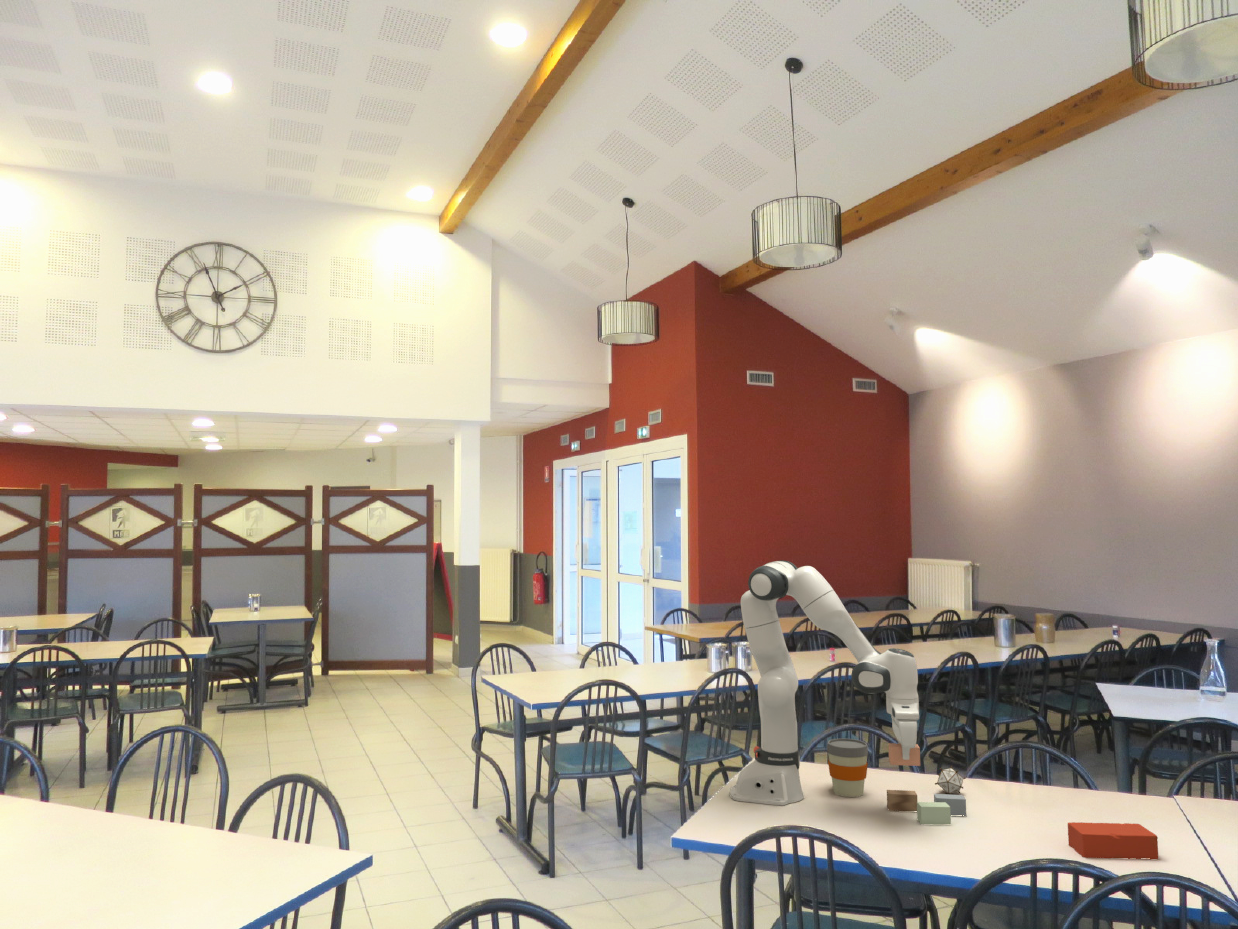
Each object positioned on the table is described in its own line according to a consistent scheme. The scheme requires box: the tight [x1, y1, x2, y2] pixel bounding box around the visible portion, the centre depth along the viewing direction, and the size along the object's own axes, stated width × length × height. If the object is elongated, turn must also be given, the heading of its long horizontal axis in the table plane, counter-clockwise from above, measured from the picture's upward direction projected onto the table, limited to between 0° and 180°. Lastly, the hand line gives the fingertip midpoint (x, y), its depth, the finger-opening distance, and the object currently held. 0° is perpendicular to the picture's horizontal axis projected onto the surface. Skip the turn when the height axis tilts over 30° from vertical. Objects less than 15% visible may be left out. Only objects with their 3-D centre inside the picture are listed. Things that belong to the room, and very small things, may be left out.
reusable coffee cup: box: [826, 738, 869, 798], centre depth 268 cm, size 13×12×15 cm
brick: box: [1067, 822, 1159, 860], centre depth 219 cm, size 18×9×6 cm, turn 85°
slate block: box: [933, 793, 967, 817], centre depth 248 cm, size 8×4×5 cm, turn 80°
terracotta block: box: [887, 742, 921, 767], centre depth 244 cm, size 8×4×5 cm, turn 80°
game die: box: [934, 765, 967, 795], centre depth 266 cm, size 9×8×10 cm
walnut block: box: [886, 789, 918, 812], centre depth 252 cm, size 8×4×5 cm, turn 81°
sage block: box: [916, 801, 952, 825], centre depth 241 cm, size 8×4×5 cm, turn 87°
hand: (904, 756), depth 244 cm, fingers closed on terracotta block, 4 cm apart
